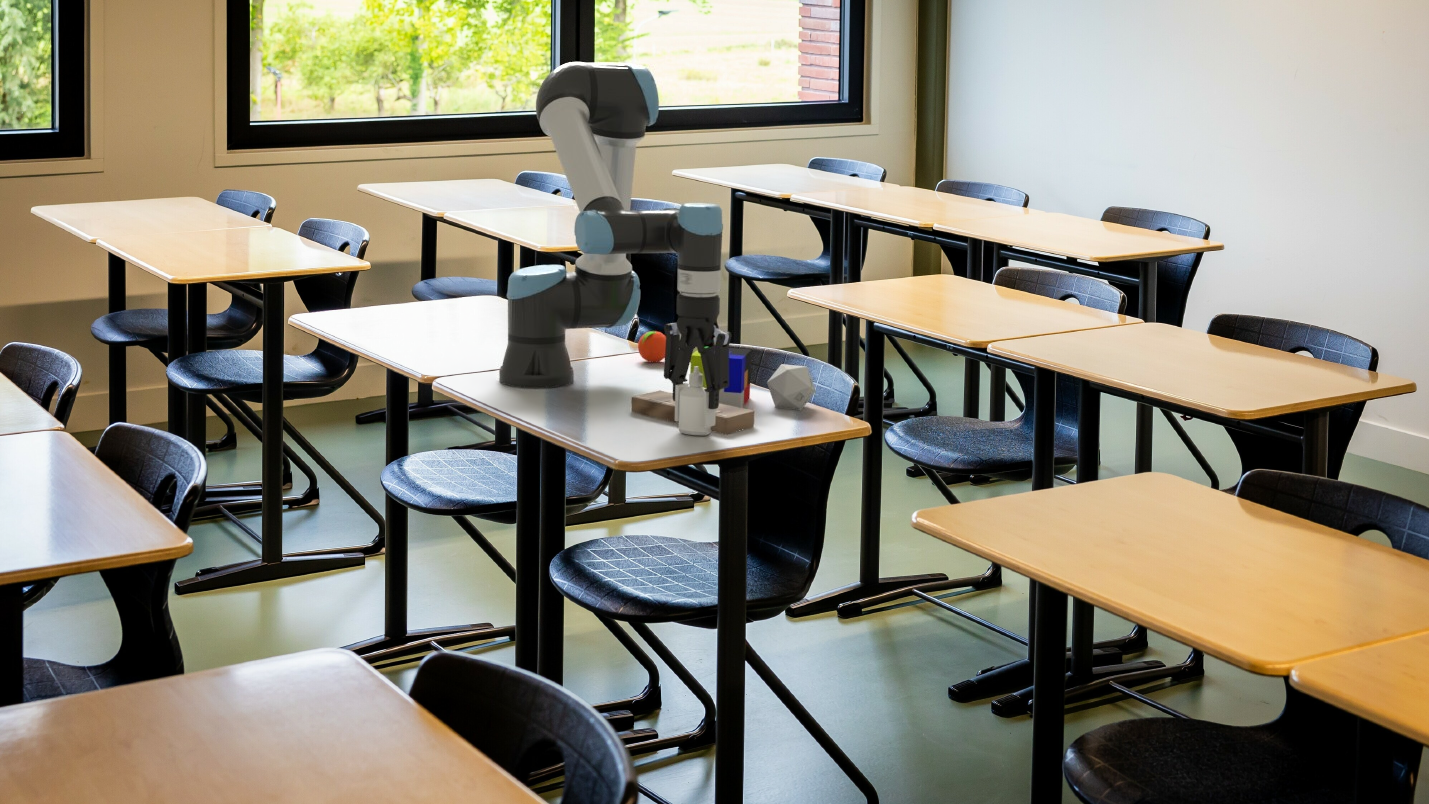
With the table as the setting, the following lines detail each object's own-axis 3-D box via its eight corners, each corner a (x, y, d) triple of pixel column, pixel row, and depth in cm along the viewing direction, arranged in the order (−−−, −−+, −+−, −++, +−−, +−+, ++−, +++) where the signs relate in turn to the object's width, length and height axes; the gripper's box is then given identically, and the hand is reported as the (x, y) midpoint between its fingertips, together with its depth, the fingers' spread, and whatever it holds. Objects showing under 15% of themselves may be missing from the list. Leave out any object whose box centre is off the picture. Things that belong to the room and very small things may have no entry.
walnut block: (631, 412, 265) (631, 396, 264) (659, 405, 271) (659, 389, 270) (726, 434, 251) (726, 417, 250) (753, 426, 257) (754, 410, 256)
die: (786, 417, 267) (819, 376, 267) (752, 389, 270) (784, 348, 270) (797, 424, 275) (830, 384, 275) (764, 396, 278) (795, 357, 278)
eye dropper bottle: (696, 438, 247) (698, 370, 244) (674, 431, 251) (676, 365, 248) (714, 434, 250) (716, 367, 247) (692, 428, 254) (694, 362, 251)
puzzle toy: (740, 410, 270) (742, 358, 268) (689, 406, 272) (690, 355, 269) (749, 399, 279) (751, 349, 277) (700, 395, 281) (701, 346, 279)
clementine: (655, 367, 306) (655, 335, 305) (628, 363, 310) (629, 331, 308) (674, 361, 313) (675, 330, 311) (648, 357, 316) (649, 326, 315)
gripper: (644, 289, 247) (641, 417, 253) (726, 302, 236) (722, 436, 241) (672, 285, 253) (669, 410, 258) (754, 297, 242) (749, 428, 247)
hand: (694, 422), depth 250 cm, fingers closed on eye dropper bottle, 6 cm apart
